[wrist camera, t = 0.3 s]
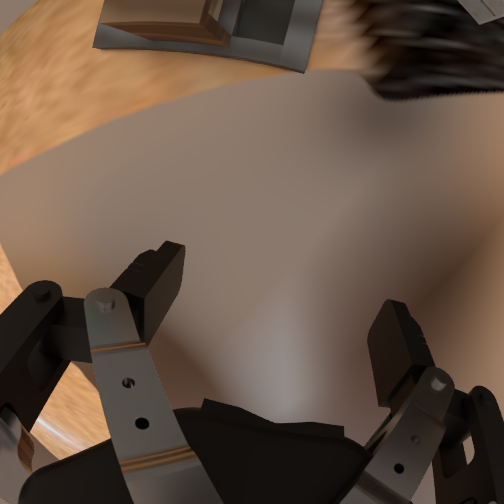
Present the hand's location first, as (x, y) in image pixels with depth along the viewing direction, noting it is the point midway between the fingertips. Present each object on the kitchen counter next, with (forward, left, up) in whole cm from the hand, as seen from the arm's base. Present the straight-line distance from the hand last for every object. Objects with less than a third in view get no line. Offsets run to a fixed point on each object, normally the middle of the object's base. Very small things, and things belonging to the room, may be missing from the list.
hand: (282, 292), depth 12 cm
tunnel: (-18, -15, -29) cm, 37 cm away
